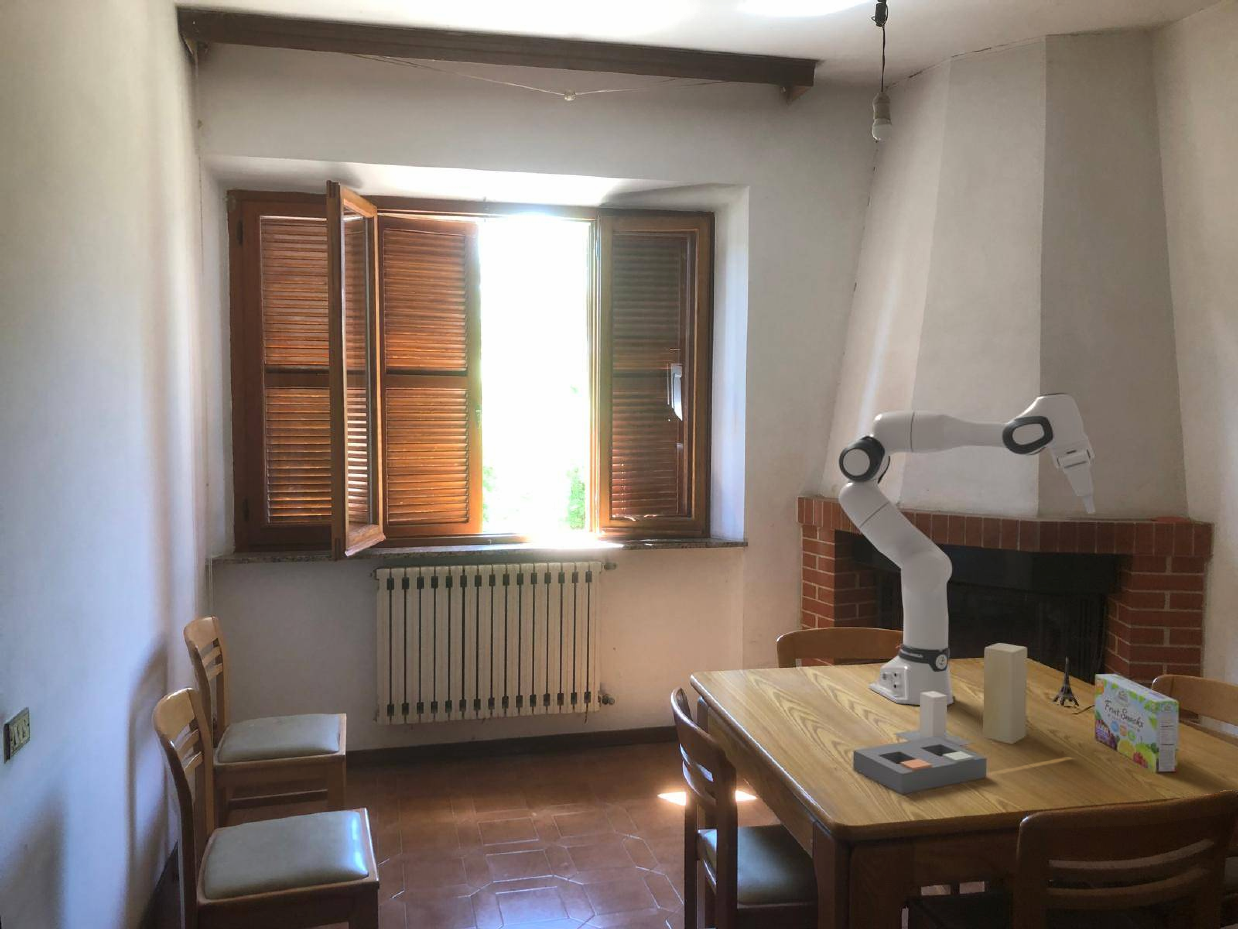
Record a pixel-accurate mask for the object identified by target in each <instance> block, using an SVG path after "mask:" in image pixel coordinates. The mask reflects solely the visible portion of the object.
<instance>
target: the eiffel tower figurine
mask: <svg viewBox="0 0 1238 929" xmlns="http://www.w3.org/2000/svg"><path fill="white" fill-rule="evenodd" d="M1069 662H1070V660H1069V657H1066V658H1065V669H1064V678H1063V682H1062V685H1061V688H1060V690H1059V691H1058V693H1057V694H1056V696H1055V697H1054V698H1053V699H1051V702H1052V703H1053V702H1057V701H1060V706H1064V702H1065V701H1069V702H1073V701H1074V703H1075V705H1077V706H1079V704H1078V702H1077V700H1076V699H1077V698H1076V697H1075V694H1074V693H1073V691H1072V687H1071V683H1070V674H1069V672H1070V671H1069V670H1070V669H1069ZM1075 698H1076V699H1075ZM1059 699H1060V700H1059ZM1058 705H1059V704H1057V705H1056V706H1058Z"/></svg>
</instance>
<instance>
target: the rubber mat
mask: <svg viewBox="0 0 1238 929" xmlns="http://www.w3.org/2000/svg"><path fill="white" fill-rule="evenodd" d="M919 734H920V728H918V729H914V730H909V731H908V730H907V731H903V732H895V733H894V735H895V736H897V737H900V738H902V739H904V740H907V741H911V740H917V739H923V738H921V737H919ZM945 741H948V742H950V743H953V744H955V745H957V746H960V747H962V746H965V745H966V746H967V745H971V744H974V743H973V742H971V741H969V740H966V739H964V738H961V737H958V735H957V736H956V735H953V734H951V733H950V732H947V731H946V740H945Z"/></svg>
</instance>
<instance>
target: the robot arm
mask: <svg viewBox="0 0 1238 929" xmlns="http://www.w3.org/2000/svg"><path fill="white" fill-rule="evenodd" d="M971 446H972V447H995V448H998V447H999V448H1004V449H1007V450H1009V451H1010V452H1011V453H1013V454H1016V455H1019V456H1035V455H1037V454H1038V455H1039V453H1041V452H1042V451H1044V450H1045V449H1046V448H1047V447H1048V449H1049V451H1050V455H1051V458H1052V460H1053V464H1054V466H1055V469H1059V468H1060V469H1062V473H1063V474H1065V475H1066V477H1067V479H1068V481H1069V483H1070V486H1071V487H1072V489H1073V491H1074V493H1075V494H1076V497H1080V498H1081V501H1082V504H1083V505H1084V508H1085V510H1086V513H1087V514H1088V515H1092V514H1095V513H1096V511H1097V510H1096V506H1095V503H1094V499H1093V495H1092V494H1093V493H1094V487H1093V486H1094V485H1093V481H1092V476H1091V471H1090V468H1091V467H1092V463H1091V460H1093V459H1095V458H1096V457H1095V453H1094V450H1093V447H1092V444H1091V442H1090V439H1089V437H1088V435H1087V434H1086V433H1085V430H1084V422H1083V419H1082V416H1081V413H1080V410H1079V408H1078V406H1077V404H1076V401H1075V400H1074V398H1073V397H1072V396H1071V395H1070V394H1068V393H1065V392H1054V393H1051V392H1050V393H1046V394H1041V395H1038V396H1037V397H1036V398H1035V400H1034V401H1033V402H1032V403H1031V404H1030V405H1029V407H1027V408H1026V409H1025V410H1024V411H1023V412H1021V413H1019V414H1018V415H1017V416H1015V417H1013V418H1012V419H1011V420H1010V421H1006V422H991V421H990V422H989V421H987V422H985V421H969V420H964V419H960V418H957V417H953V416H951V415H949V414H944V413H940V412H935V411H930V410H918V409H917V410H915V409H912V410H911V409H910V410H909V409H907V410H894V411H887V412H882V413H879V414H878V415H877V416H875V418H874V419H873V421H872V423H871V427H870V434H869V435H864V436H862V437H860V438H858V439H857V440H854V441H852V442H850V443H848V444H847V445H846V446H845V447H844V448H843V449H842V451H841V452H840V454H839V458H838V467H839V469H840V470H839V471H841V473H842V475H843V476H845V478H846V479H847V483H846V484H845V485H844V486H843V487H842V488H841V489H840V492H839V494H838V503H839V504H840V506H841V508H842V510H843V511H844V512H845V514H846V515H847V517H848V518H849V519H850V521H851V522H852V523H853V525H854V526H856V528H857V529H858V530H859V531H860V533H862V534H863V535H864V536H865V538H866V539H867V540H868V541H869V542H870V543H871V544H872V545H873V546H874V547H875V548H876V549H877V550H878V552H880V553H882V554H883V555H884V556H886V557H887V558H888V559H889V560H890V561H892V562H893V563H894V564H895V565H896V566H897V567H899V569H901V570H900V577H901V578H900V581H901V598H902V600H901V601H902V607H903V609H902V610H903V627H902V628H903V632H902V633H903V634H902V635H903V637H902V638H903V639H902V641H903V642H901V643H896V644H895V646H896V647H895V649H899V650H898V652H897V655H896V656H894V658H892V659H891V660H889V661H888V662H886V663H885V664H883V665H882V666H881V667H880V670H879V673H878V681H874V682H871V683H869V686H868V687H869V689H870V690H871V691H872V690H873V691H874V692H876V693H877V694H880V696H883V697H885V698H887V699H889V700H890V701H892V702H894V703H897V704H903V705H904V704H905V705H906V704H907V705H908V704H909V705H916V706H920V693H924V692H931V691H935V692H938V693H941V694H944V695H946V696H947V706H948V705H951V704H953V703H954V698H953V696H954V692H953V691H952V686H951V673H950V671H951V670H950V667H949V662H950V654H951V651H950V646H949V612H948V610H949V609H948V598H947V596H948V594H947V593H948V592H947V586H948V585H947V584H948V581H949V580H950V578H951V577H952V572H953V566H952V561H951V560H950V559H951V558H949V556H948V554H946V553H945V552H944V551H943V550H942V549H940V547H939V546H938V545H936V543H934V541H932V540H931V539H930V538H929V537H928V536H926V534H924V532H922V531H921V530H919V529H918V528H917V527H916V526H915V525H914V524H913V523H911V522H910V520H909V519H907V517H906V516H905V515H904V514H903V513H902V512H901V511H900V510H899V508H897V507H896V506H895V505H894V503H892V501H890V499H889V498H888V497H886V495H885V494H884V493H883V492H882V490H881V489H880V488H879V484H880V483H881V481H882V480H883V478H884V476H885V474H886V473H887V471H888V469H889V467H890V464H891V455H893V454H895V453H914V454H927V453H929V454H930V453H937V452H942V451H947V450H951V449H957V448H961V447H971Z"/></svg>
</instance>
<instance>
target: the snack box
mask: <svg viewBox="0 0 1238 929" xmlns="http://www.w3.org/2000/svg"><path fill="white" fill-rule="evenodd" d="M1094 675H1095V676H1094V705H1095V706H1094V739H1095V740H1097V741H1099V742H1100V741H1101V742H1100V743H1102V744H1104V745H1106V746H1108V747H1109V748H1111V749H1113V750H1114V749H1115V750H1114V751H1116V752H1118V753H1120V754H1121V753H1122V754H1121V755H1123V756H1125V757H1126V756H1127V758H1128V759H1130V760H1131V761H1133V760H1134V762H1136V763H1137V764H1138V765H1140V766H1142V767H1144V768H1146V769H1147V770H1149V771H1151V772H1152V773H1155V774H1158V773H1160V774H1161V773H1162V774H1163V773H1178V766H1179V765H1178V763H1179V762H1178V761H1179V760H1178V758H1179V756H1178V755H1179V714H1180V713H1179V711H1180V710H1179V707H1180V702H1179V701H1178V700H1177V699H1174V698H1172V697H1169V696H1167V695H1165V694H1163V693H1160V692H1158V691H1155V690H1153V689H1151V688H1149V687H1147V686H1144V685H1141V683H1140V684H1139V683H1137V682H1135V681H1132V680H1130V679H1128V678H1126V677H1123V676H1121V675H1118V674H1116V673H1105V674H1094Z"/></svg>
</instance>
